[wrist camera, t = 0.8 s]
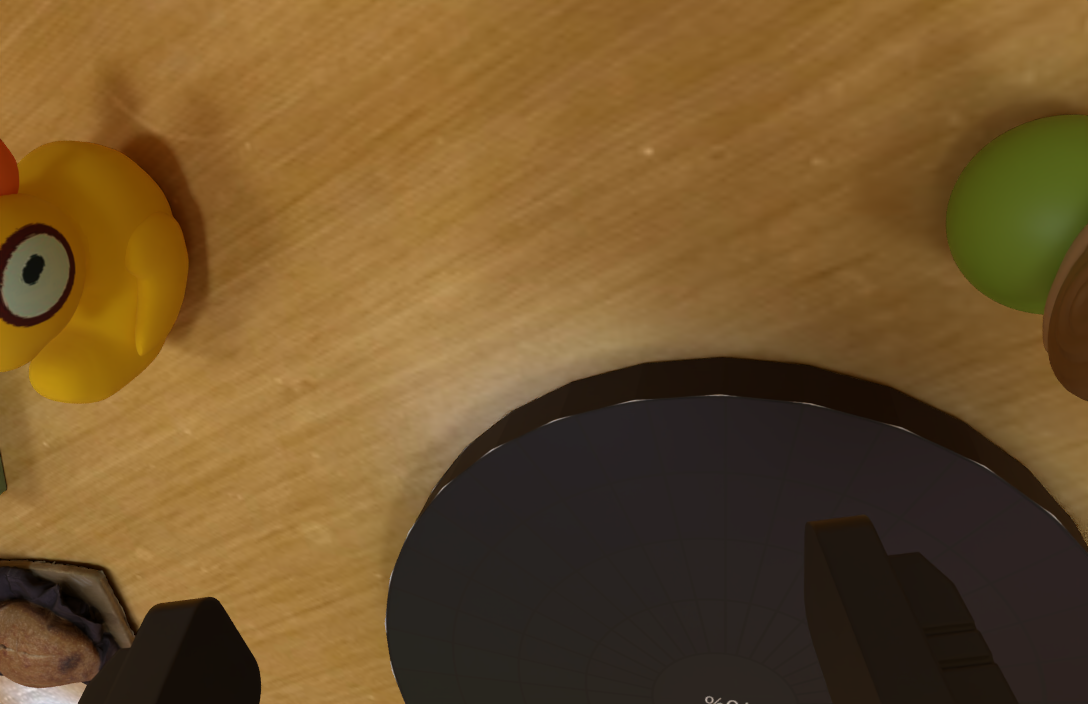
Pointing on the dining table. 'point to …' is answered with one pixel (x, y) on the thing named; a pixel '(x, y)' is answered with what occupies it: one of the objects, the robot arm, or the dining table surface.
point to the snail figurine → (1031, 233)
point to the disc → (714, 541)
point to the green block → (2, 479)
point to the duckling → (85, 269)
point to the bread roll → (57, 623)
